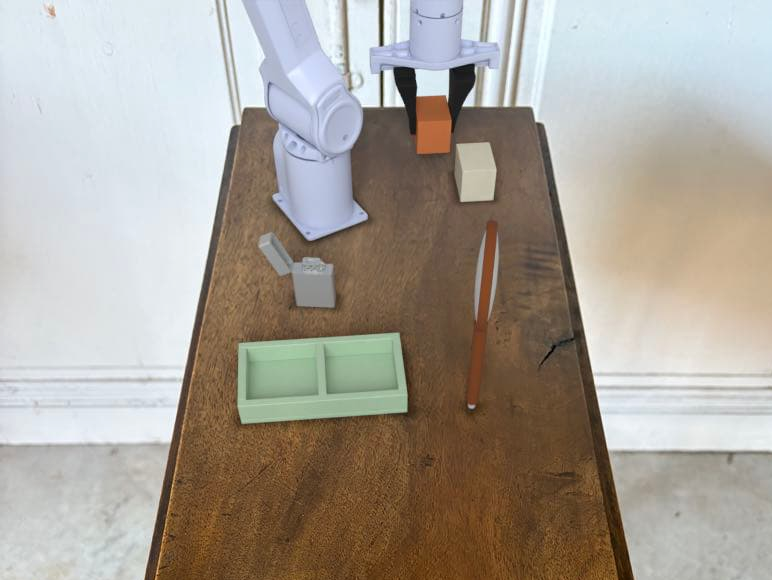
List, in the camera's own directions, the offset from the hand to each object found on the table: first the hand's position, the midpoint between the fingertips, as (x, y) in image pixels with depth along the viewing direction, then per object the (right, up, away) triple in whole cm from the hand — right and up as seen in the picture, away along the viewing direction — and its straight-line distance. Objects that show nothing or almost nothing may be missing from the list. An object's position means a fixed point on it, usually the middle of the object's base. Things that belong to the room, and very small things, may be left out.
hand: (431, 129), depth 97 cm
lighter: (-14, -24, -11) cm, 30 cm away
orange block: (0, -1, +1) cm, 1 cm away
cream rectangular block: (+5, -7, 0) cm, 9 cm away
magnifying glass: (+3, -37, -19) cm, 42 cm away
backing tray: (-11, -35, -18) cm, 41 cm away
